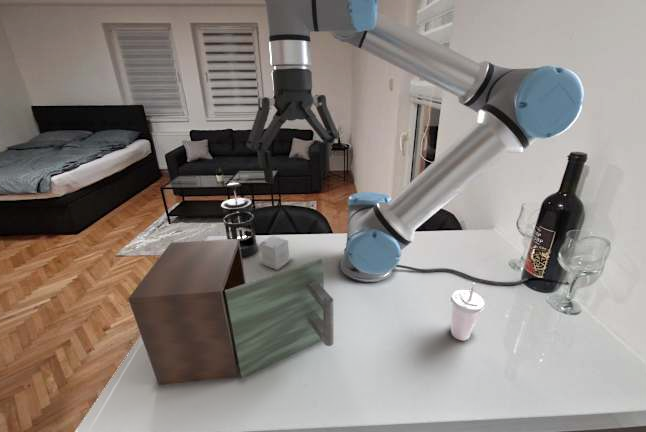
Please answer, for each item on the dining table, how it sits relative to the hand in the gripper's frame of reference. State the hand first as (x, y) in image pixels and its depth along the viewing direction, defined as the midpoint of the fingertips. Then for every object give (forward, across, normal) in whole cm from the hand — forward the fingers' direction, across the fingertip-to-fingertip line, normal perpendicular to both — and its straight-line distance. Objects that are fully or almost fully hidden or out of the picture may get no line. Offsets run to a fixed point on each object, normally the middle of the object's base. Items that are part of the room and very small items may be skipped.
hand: (298, 176), depth 66 cm
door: (+32, +13, +18) cm, 39 cm away
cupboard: (+32, +25, +2) cm, 40 cm away
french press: (+32, +5, -32) cm, 45 cm away
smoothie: (+32, -21, +31) cm, 50 cm away
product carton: (+32, 0, -19) cm, 37 cm away
